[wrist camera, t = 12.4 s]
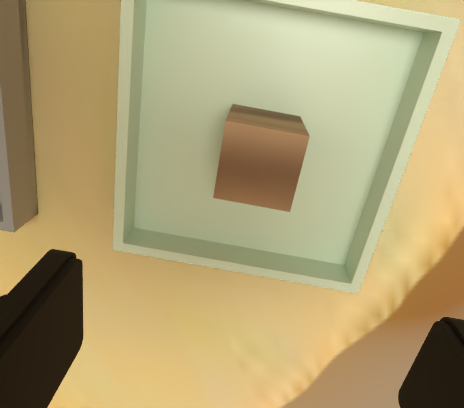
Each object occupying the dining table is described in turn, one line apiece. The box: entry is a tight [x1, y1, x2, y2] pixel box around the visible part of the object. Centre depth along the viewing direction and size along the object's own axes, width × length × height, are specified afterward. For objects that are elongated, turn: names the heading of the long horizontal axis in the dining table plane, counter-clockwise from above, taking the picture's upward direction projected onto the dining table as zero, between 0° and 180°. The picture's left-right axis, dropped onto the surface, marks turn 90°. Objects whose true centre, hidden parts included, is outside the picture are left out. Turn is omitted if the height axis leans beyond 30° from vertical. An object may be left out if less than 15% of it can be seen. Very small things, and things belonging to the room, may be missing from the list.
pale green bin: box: [113, 0, 461, 294], centre depth 27 cm, size 20×20×4 cm
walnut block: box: [213, 104, 310, 212], centre depth 26 cm, size 5×5×6 cm
